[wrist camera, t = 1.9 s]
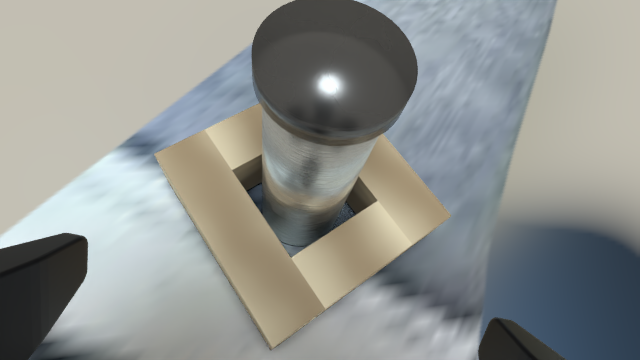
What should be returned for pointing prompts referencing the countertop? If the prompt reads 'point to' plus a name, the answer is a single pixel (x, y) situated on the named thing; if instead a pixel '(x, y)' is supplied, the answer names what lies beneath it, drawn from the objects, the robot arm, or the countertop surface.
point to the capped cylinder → (324, 106)
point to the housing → (263, 245)
